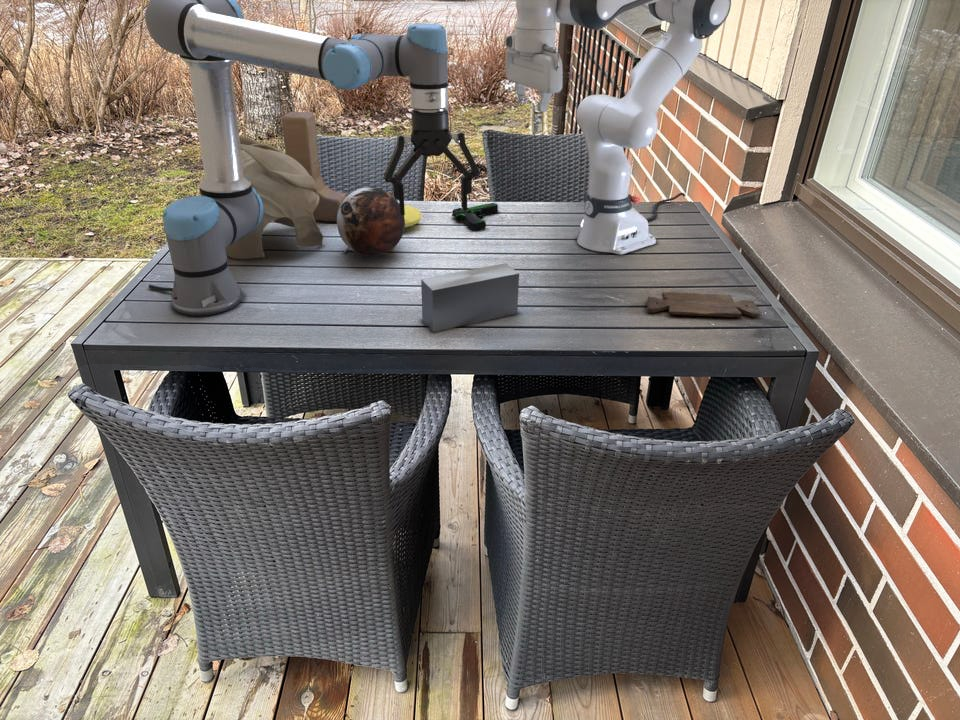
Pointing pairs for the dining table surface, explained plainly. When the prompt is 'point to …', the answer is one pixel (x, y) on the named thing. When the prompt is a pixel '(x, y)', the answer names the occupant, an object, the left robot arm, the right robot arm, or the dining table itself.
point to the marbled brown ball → (370, 221)
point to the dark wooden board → (702, 305)
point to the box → (469, 297)
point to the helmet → (277, 197)
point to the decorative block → (310, 160)
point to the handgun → (475, 215)
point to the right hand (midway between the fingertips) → (531, 107)
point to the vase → (411, 215)
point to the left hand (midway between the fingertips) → (433, 211)
